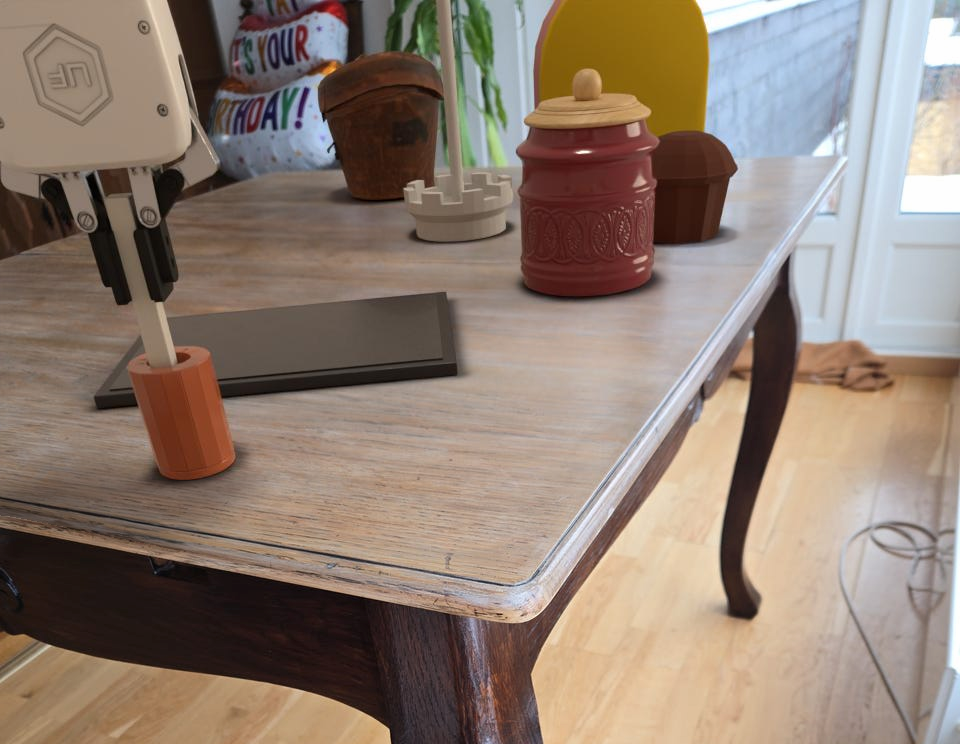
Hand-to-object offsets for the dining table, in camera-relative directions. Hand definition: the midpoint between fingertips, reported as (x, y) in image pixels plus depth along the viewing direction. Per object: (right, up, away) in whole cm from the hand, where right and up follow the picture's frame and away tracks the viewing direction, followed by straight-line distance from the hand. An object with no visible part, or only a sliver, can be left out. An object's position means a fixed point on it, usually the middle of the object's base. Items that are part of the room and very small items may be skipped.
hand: (146, 295), depth 53 cm
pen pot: (+1, -9, +6) cm, 11 cm away
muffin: (+42, +25, +47) cm, 68 cm away
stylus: (0, -6, +4) cm, 8 cm away
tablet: (+4, +5, +24) cm, 25 cm away
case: (+7, +47, +81) cm, 93 cm away
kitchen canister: (+30, +15, +35) cm, 49 cm away
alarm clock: (+39, +40, +68) cm, 88 cm away
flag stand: (+18, +30, +57) cm, 66 cm away
